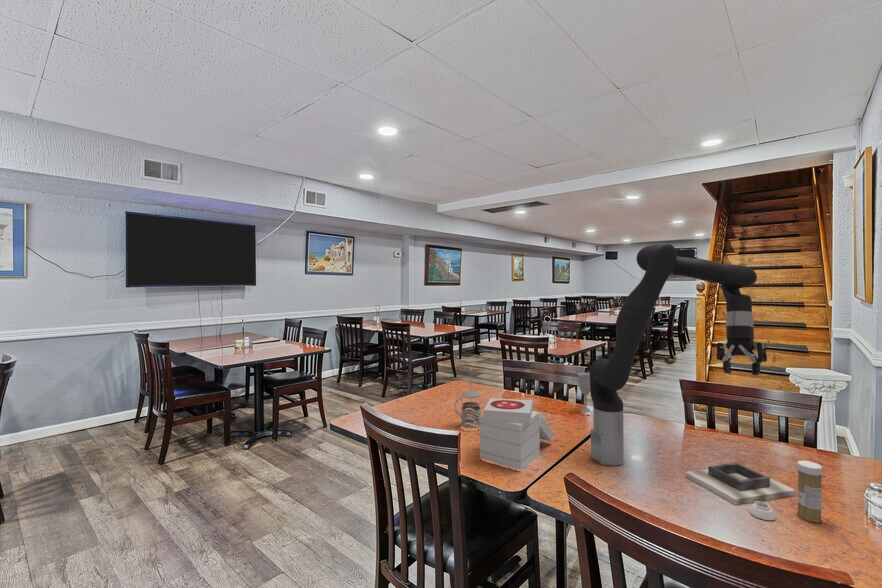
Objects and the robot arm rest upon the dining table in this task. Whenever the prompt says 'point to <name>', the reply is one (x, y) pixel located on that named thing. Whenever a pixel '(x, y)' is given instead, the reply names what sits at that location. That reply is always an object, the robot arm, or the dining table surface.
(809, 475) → the sprinkles bottle
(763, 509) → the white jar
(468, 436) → the dining table surface
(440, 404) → the dining table surface
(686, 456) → the dining table surface
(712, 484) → the condiment holder
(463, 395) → the french press
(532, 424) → the stack of boxes
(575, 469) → the dining table surface
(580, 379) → the chalice
